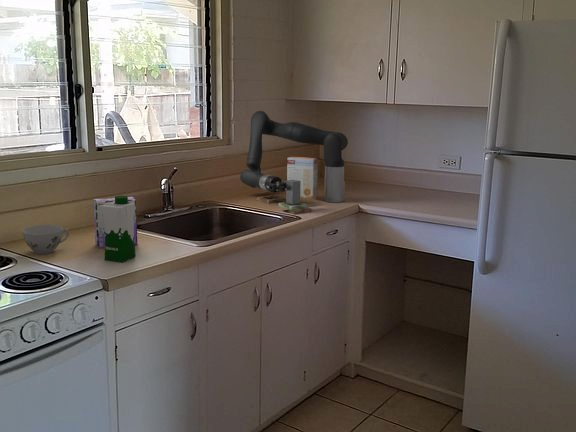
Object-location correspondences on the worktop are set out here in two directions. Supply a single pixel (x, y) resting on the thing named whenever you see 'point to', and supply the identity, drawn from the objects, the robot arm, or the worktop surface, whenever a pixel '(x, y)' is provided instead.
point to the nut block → (293, 192)
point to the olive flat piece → (281, 203)
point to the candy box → (100, 220)
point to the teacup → (44, 237)
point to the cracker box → (304, 175)
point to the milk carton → (119, 229)
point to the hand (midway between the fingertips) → (292, 188)
